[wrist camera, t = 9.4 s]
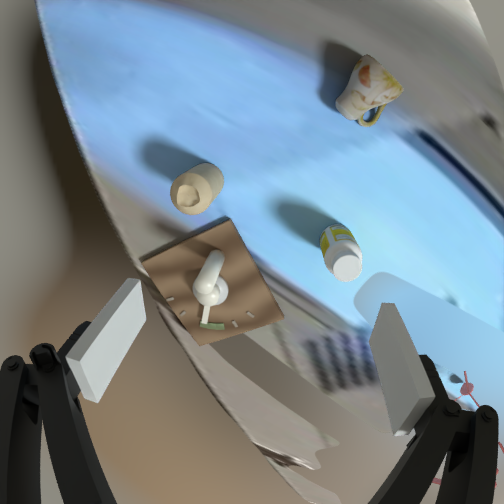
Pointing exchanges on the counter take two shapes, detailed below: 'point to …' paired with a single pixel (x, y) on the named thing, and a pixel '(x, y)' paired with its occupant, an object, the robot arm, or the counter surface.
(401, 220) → the counter surface
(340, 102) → the mug
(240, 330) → the board
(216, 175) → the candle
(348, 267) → the supplement bottle
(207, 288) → the handle
